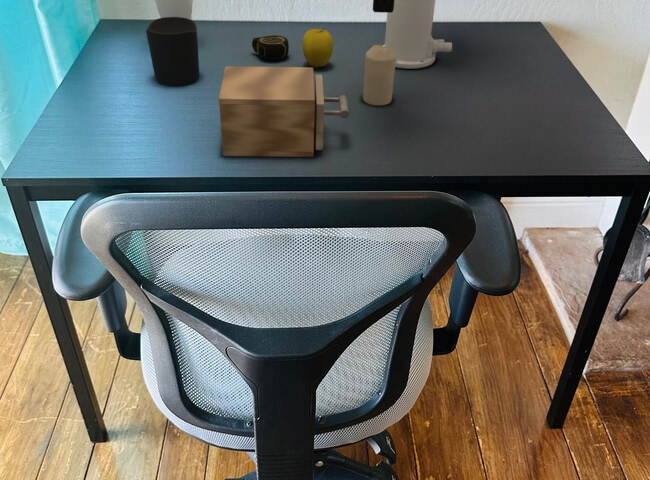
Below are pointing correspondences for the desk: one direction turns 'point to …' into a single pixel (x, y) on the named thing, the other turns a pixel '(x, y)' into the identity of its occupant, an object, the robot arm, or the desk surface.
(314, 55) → the apple
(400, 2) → the robot arm
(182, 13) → the cup
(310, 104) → the cabinet
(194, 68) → the pen holder
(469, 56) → the desk surface
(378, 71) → the candle
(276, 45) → the tape measure
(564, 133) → the desk surface
